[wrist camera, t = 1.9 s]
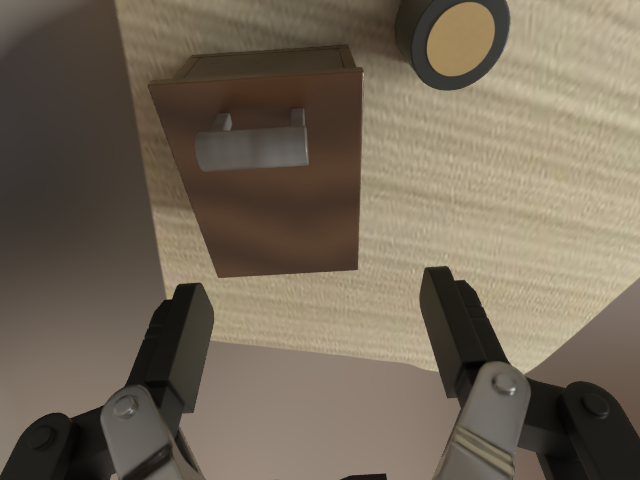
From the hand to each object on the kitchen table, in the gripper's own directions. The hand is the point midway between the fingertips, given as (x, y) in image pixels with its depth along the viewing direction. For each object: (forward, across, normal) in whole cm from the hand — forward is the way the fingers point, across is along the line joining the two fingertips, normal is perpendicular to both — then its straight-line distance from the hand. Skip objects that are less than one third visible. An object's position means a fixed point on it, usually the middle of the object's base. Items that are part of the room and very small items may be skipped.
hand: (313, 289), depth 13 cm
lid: (+11, +3, +3) cm, 12 cm away
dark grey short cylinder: (+19, -9, -4) cm, 22 cm away
